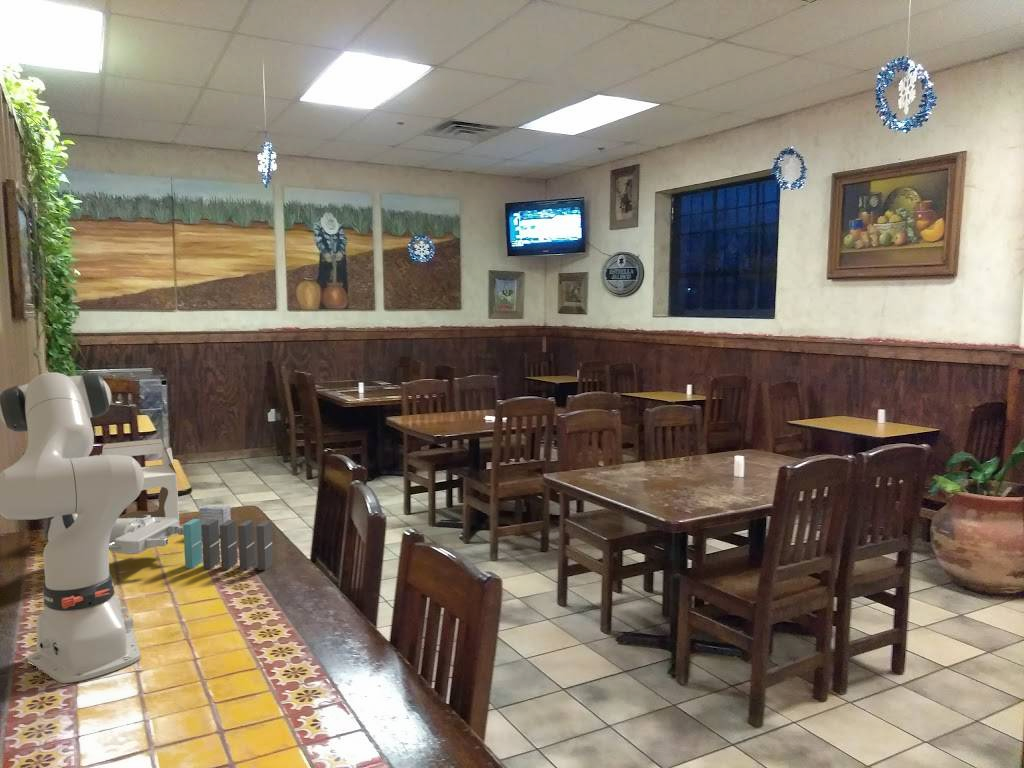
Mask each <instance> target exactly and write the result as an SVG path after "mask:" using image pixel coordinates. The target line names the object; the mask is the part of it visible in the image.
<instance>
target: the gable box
mask: <svg viewBox="0 0 1024 768" xmlns="http://www.w3.org/2000/svg"><path fill="white" fill-rule="evenodd" d="M106 454H107V455H125V456H131V457H137V456H144V455H145V456H146V455H158V454H159V455H161V458H162V464H157V465H155V464H154V465H147V466H141V468H142V470H143V473H144V485H143V488H142V491H147V490H150V489H151V490H152V489H154V488H155V489H156V488H160V490H159V493H158V497H157V501H158V509H156V510H155V511H154V510H153V511H146V510H135V511H130V512H127V513H125V514H120V516H119V517H118V518H135V517H139V516H143V515H151V518H153V517H165V518H175V519H177V520H178V521H179V522H180V513H179V511H180V510H179V497H178V496H179V494H178V491H179V490H178V479H177V478H178V476H177V475H178V473H177V472H176V469H175V468H174V465H173V464H174V458H173V451H172V447H170V446H169V447H167V448H166V447H165V446H164V443H163V440H162V439H161V438H153V439H152V438H151V439H144V440H143V439H142V440H131V441H122V442H121V441H120V442H119V441H118V442H111V443H110V442H109V443H104V444H103V445H102V450H101V453H100V454H99V455H106ZM97 455H98V454H94V455H93V456H97Z"/></svg>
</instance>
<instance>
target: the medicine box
mask: <svg viewBox="0 0 1024 768" xmlns="http://www.w3.org/2000/svg"><path fill="white" fill-rule="evenodd" d="M198 512H199V513H198V514H199V519H200V522H201V525H202V524H204V523H206V522H207V521H209V520H211V519H218V527H219V537H220V525H221V524H222V523H224V522H226V521H227V520H232V519H231V518H232V517H231V505H229V504H227V505H225V504H206V505H203V506H202V507H200V508H199V509H198ZM201 537H202V526H201Z"/></svg>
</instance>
